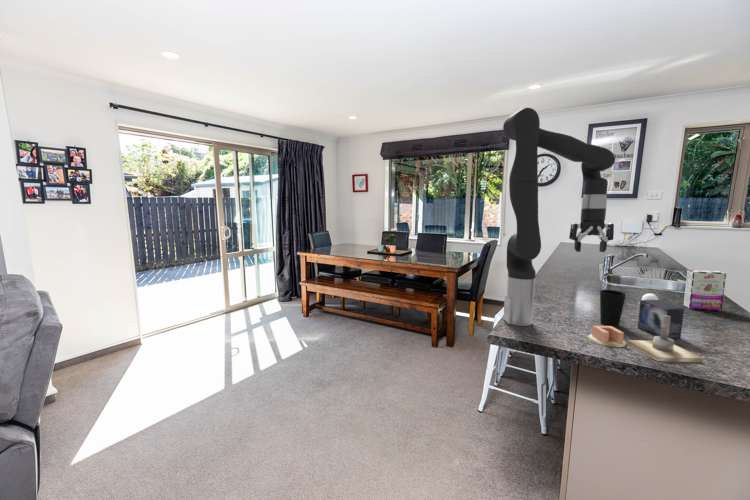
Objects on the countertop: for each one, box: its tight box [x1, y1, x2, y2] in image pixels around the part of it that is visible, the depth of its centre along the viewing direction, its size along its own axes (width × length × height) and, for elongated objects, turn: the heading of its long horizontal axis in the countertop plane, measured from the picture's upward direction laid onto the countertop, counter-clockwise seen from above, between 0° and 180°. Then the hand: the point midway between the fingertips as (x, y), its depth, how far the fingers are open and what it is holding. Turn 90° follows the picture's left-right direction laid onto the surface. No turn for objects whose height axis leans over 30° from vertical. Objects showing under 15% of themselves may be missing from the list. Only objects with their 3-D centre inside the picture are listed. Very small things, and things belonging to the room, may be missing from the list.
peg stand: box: [626, 315, 703, 363], centre depth 98 cm, size 12×12×11 cm
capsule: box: [641, 293, 659, 300], centre depth 136 cm, size 5×5×8 cm
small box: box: [637, 299, 685, 340], centre depth 114 cm, size 11×6×10 cm, turn 5°
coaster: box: [588, 333, 627, 348], centre depth 108 cm, size 10×10×1 cm
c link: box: [591, 325, 625, 344], centre depth 107 cm, size 6×6×4 cm
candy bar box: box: [683, 269, 727, 311], centre depth 141 cm, size 11×5×16 cm, turn 73°
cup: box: [599, 289, 626, 328], centre depth 122 cm, size 8×8×12 cm
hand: (589, 251), depth 123 cm, fingers open, 8 cm apart
